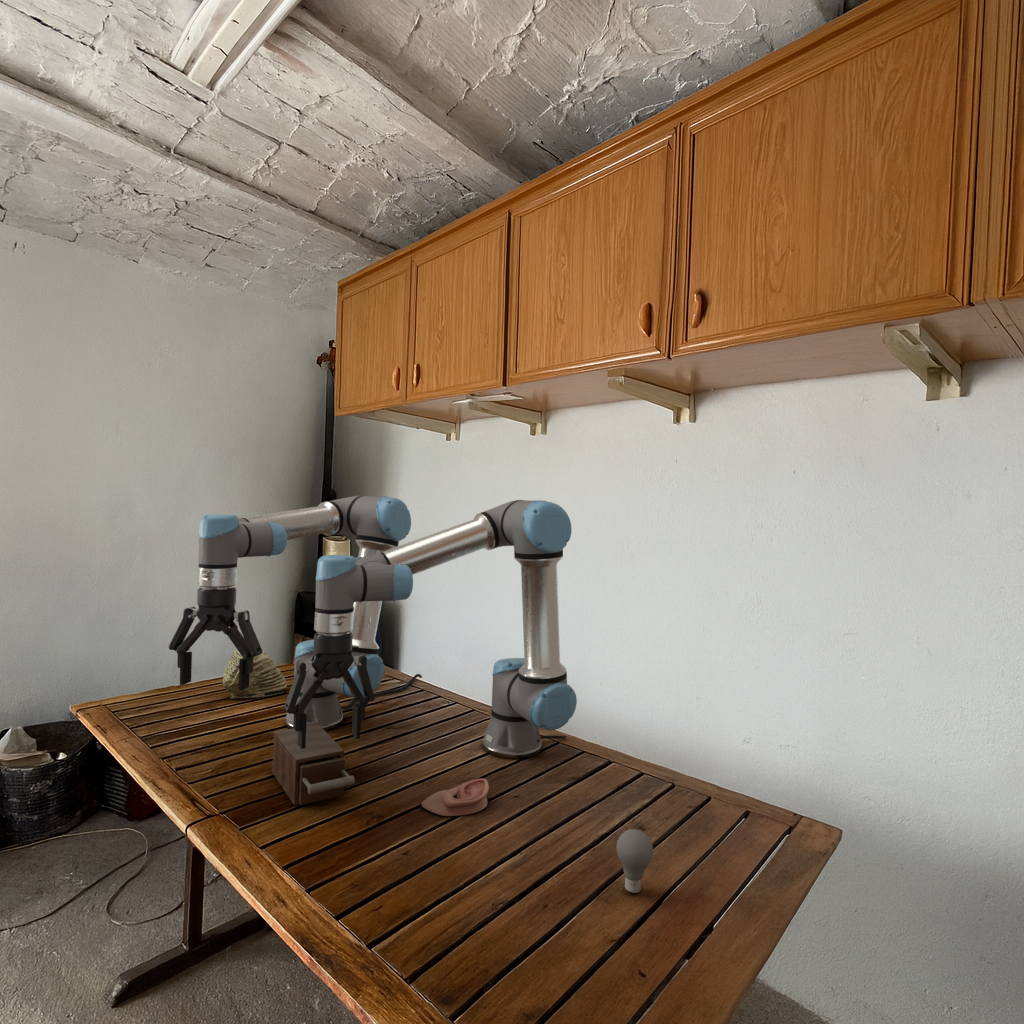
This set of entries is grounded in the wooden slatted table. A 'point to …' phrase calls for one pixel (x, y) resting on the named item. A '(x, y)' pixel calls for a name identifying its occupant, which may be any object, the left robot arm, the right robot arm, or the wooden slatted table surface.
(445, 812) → the anatomical model
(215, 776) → the wooden slatted table surface
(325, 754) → the cabinet
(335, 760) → the drawer
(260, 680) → the fossil
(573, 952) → the wooden slatted table surface
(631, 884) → the light bulb
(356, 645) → the left robot arm
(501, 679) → the right robot arm
